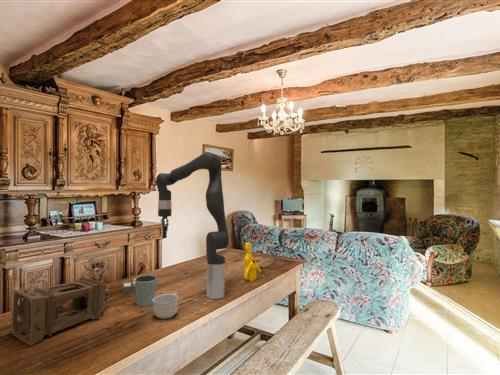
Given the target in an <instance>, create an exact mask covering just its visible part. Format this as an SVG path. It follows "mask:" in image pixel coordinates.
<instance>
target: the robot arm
mask: <svg viewBox="0 0 500 375" xmlns="http://www.w3.org/2000/svg"><path fill="white" fill-rule="evenodd" d="M204 169H205V170H208V177H209V180H208V186H207V189H206V191H205V202H206V204H205V205H206V209H207V210H208V212H209V213H210V215H211V216H212V218H213V219H214V221H215V223H216V226H217V231H209V232H207V234H206V238H205V248H206V249H205V250H206V252H205V253H206V297H207V298H208V299H211V300H216V299H217V300H218V299H224V297H225V289H226V288H225V283H226V257H225V256H224V255H222V254H218V253H217V250H225V249H227V248H228V246H229V243H230V237H229V232H228V227H227V222H226V214H225V203H224V202H225V201H224V200H225V199H224V192H223V182H222V160H221V157H220V156H219V155H218V154H215V153H213V152H210V151H205V152H203V153H202V154H200V155H199V156H197V157H195V158H194V159H192V160H190V161H189V162H187V163H185V164H182V165H181V166H179V167H176V168H173V169H172V170H171V171H170V172H169V173H164V172H163V173H162V172H161V173H158V175H157V176H156V178H155V183H156V188H157V192H158V201H157V202H158V204H157V216H158V217H160V218H161V219H160V223H161V226H160V227H161V232H162V239H166V238H167V234H168V233H167V232H168V229H169V219H168V217H171V216H172V192H171V190H169V189H168V187H169V186H172V185H174V184H176V183H177V182H179V181H183V180H184V179H186V178H189V177H190V176H191V175H192V174H193V173H194V172H196V171H199V170H204ZM167 186H168V187H167Z"/></svg>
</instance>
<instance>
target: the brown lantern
mask: <svg viewBox="0 0 500 375" xmlns="http://www.w3.org/2000/svg"><path fill="white" fill-rule="evenodd" d="M102 283H103V282H102V281H97V280H94V279H90V278H87V277H85V276H84V275H81V276H79V277H78V278H77V279H75V281H72V282H67V283H62V284H58V285H51V286H44V287H40V288H39V287H36V286H35V287H34V288H33V289H30V288H18V289H17V288H16V289H13V291H12V294H13V295H12V309H11V310H12V312H11V334H12V335H13V337H16V338H17V339H19V340H20V342H23V343H24V344H26V345H28V346H29V347H32V346H33V345H34V344H36V343H39V342H41V341H43V339H44V337H45V336H48V337H50V338H52V337H53V336H52V335H53V334H54V333H57V332H58V331H61V330H64V329H65V328H68V327H71V326H73V325H76V324H78V323H81V322H84V321H88V320H89V319H90V320H95V319H96V320H100V319H101V318H102V316H100V315H101V314H102V312H104V310H105V309H106V307H107V306H106V305H107V303H108V302H107V301H106V298H107V297H109V295H110V294H111V292H112V290H110V289H109V288H108V287H107V284H102ZM20 299H21V302H19V300H20ZM68 301H71V304H70V305H69V306H68V307H64V306H63V305H64V304H66V303H67V302H68ZM18 317H19V319H20V321H18Z"/></svg>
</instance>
